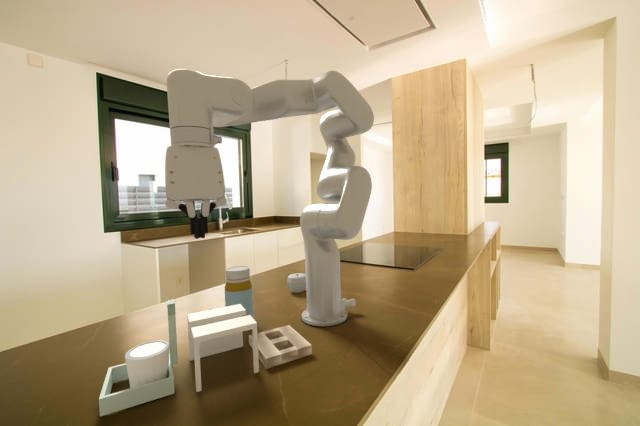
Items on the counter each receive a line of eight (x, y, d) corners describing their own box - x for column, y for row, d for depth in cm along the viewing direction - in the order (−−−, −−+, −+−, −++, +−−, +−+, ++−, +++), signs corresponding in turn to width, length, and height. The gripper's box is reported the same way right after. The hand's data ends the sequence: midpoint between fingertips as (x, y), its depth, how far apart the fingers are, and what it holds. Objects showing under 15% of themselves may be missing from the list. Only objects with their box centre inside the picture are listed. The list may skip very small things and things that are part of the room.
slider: (176, 363, 59) (173, 294, 58) (180, 391, 50) (176, 309, 49) (109, 381, 53) (104, 305, 53) (99, 416, 44) (94, 324, 44)
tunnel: (242, 345, 66) (240, 303, 66) (259, 372, 55) (256, 322, 55) (189, 359, 61) (187, 314, 61) (196, 392, 50) (193, 337, 50)
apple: (313, 290, 106) (312, 272, 106) (300, 296, 100) (299, 277, 99) (295, 287, 111) (295, 270, 110) (282, 293, 104) (281, 275, 104)
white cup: (156, 401, 48) (153, 359, 48) (117, 400, 49) (114, 359, 48) (179, 376, 55) (177, 339, 55) (145, 375, 55) (142, 339, 55)
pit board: (289, 333, 72) (289, 324, 72) (312, 354, 61) (311, 344, 61) (249, 343, 67) (248, 335, 67) (266, 368, 56) (265, 358, 56)
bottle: (258, 320, 80) (255, 266, 80) (243, 331, 74) (241, 272, 73) (236, 317, 83) (234, 265, 82) (220, 328, 76) (218, 271, 75)
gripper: (229, 146, 62) (234, 232, 63) (147, 142, 55) (155, 240, 55) (237, 139, 55) (243, 235, 56) (146, 134, 48) (154, 244, 49)
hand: (199, 237), depth 56 cm, fingers closed
